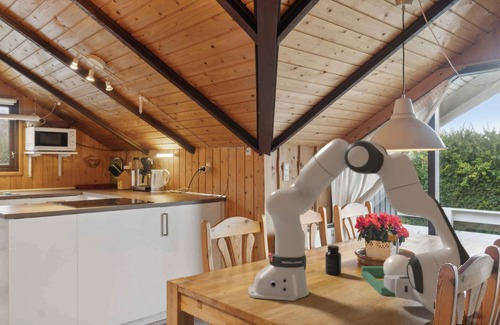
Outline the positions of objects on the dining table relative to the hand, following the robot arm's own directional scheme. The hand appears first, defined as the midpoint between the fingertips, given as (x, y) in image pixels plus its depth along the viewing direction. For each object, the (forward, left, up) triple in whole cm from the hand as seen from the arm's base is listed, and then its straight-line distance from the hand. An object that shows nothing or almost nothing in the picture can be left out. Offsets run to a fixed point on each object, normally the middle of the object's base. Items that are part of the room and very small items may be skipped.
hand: (406, 276), depth 148 cm
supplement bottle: (-20, +31, -8) cm, 37 cm away
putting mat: (0, +15, -7) cm, 17 cm away
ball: (0, +8, +1) cm, 8 cm away
